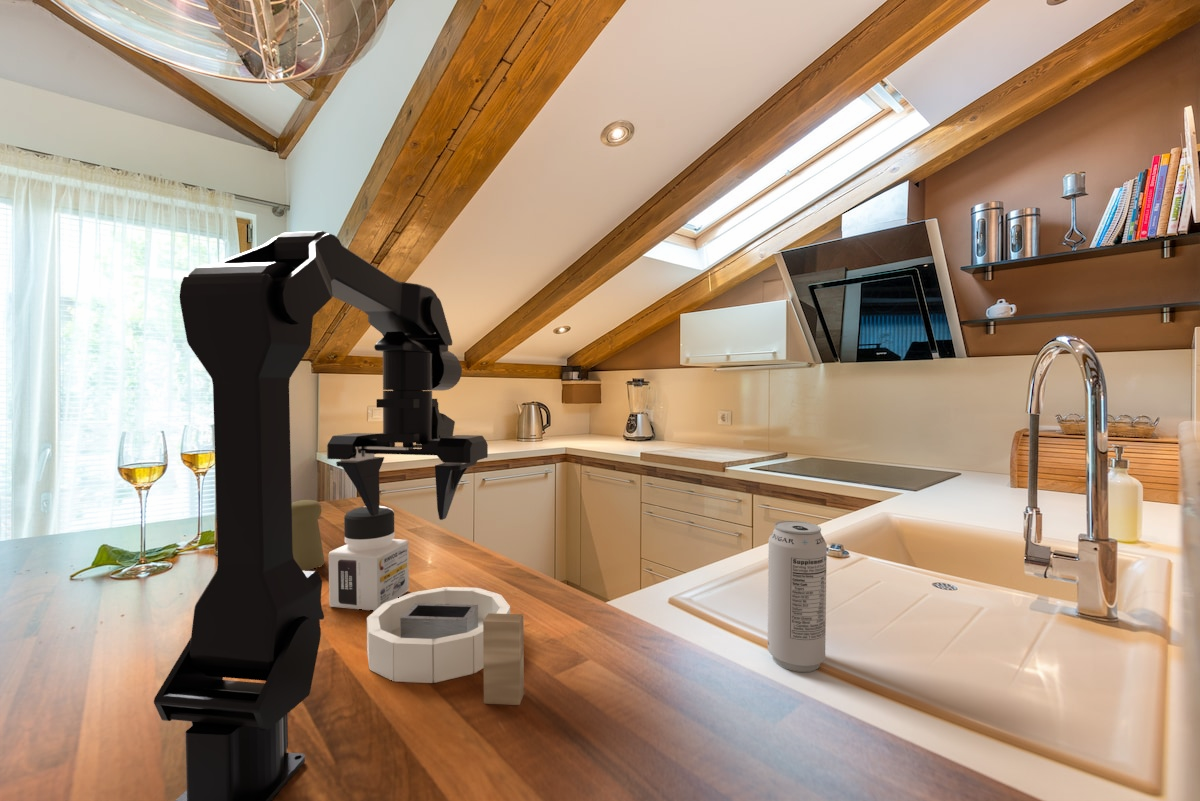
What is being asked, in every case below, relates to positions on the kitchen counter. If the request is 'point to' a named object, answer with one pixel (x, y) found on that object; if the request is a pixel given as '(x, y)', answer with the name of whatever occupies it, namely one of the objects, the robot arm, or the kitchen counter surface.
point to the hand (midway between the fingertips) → (408, 517)
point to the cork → (306, 534)
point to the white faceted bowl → (429, 655)
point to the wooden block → (503, 658)
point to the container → (368, 562)
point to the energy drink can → (797, 595)
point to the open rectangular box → (438, 620)
